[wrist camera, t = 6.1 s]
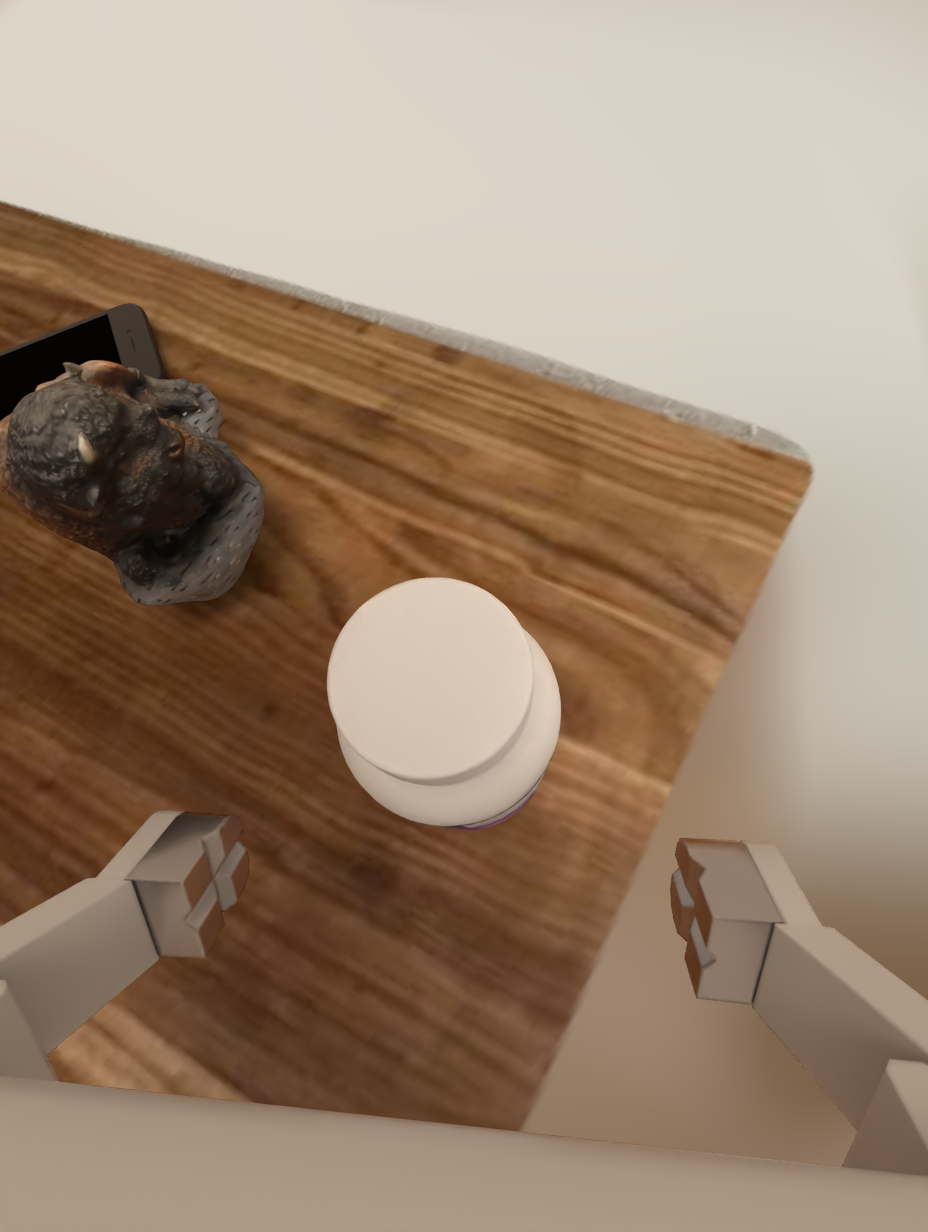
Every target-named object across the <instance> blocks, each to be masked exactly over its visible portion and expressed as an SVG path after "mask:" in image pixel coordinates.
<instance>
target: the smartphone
mask: <svg viewBox="0 0 928 1232" xmlns="http://www.w3.org/2000/svg"><path fill="white" fill-rule="evenodd" d="M92 360H99V361H109V362H113V363H118V364H120V365H122V366H123V367H125V368H126V369H127V368H136V369H138V370H140V371H141V372H142V374H143V375H144V376H150V377H152V378H155V379H167V377H166V372H165V369H164V366H163V363H162V360H161V357H160V354H159V351H158V348H157V345H156V342H155V339H154V336H153V333H152V330H151V327H150V324H149V321H148V318H147V316H146V313H145V312H144V310H143V309H142V308H141V307H140V306H138V305H135V304H131V303H128V304H123V305H119V306H117V307H114V308H112V309H109V310H106V311H104V312H101V313H99V314H96V315H94V316H91V317H89V318H86V319H84V320H81V321H78V322H76V323H73V324H71V325H68V326H66V327H63V328H61V329H58V330H56V331H53V332H51V333H48V334H45V335H43V336H40V337H38V338H35V339H33V340H30V341H28V342H25V343H23V344H20V345H18V346H15V347H12V348H10V349H7V350H5V351H2V352H0V421H1V420H3V419H4V418H5V417H7V416H8V415H10V414H12V413H13V410H14V409H15V407H16V406H17V404H18V403H19V402H20V401H21V400H22V398H23V397H25V396H26V395H28V394H30V393H32V392H35V390H36V388H37V386H38V385H40V384H43V383H46V382H49V381H53V380H55V379H56V378H57V377H59V376H60V375H62V374H64V373H66V369H65V367H64V366H63V363H65V362H67V363H74V364H76V365H78V366H80V365H81V364H84V363H85V362H87V361H92Z"/></svg>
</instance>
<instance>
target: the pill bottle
mask: <svg viewBox="0 0 928 1232" xmlns="http://www.w3.org/2000/svg"><path fill="white" fill-rule="evenodd" d="M327 693H328V700H329V705H330V710H331V712H332V715H333V717H334V720H335V723H336V725H337V733H338V738H339V743H340V747H341V750H342V753H343V755H344V758H345V760H346V763H347V765H348V767H349V768H350V770H351V772H352V774H353V775H354V777H355V778H356V780H357V781H358V782H359V783H360V785H361V786H362V787H363V788H364V789H365V790H366V791H367V792H368V793H369V794H370V795H371V796H372V797H373V798H374V799H375V800H376V801H377V802H378V803H380V804H381V805H382V806H384V807H385V808H387V809H388V810H390V811H391V812H393V813H395V814H397V815H399V816H401V817H403V818H405V819H407V820H410V821H413V822H418V823H422V824H426V825H433V826H441V827H447V828H450V829H456V830H479V829H484V828H488V827H492V826H494V825H497V824H499V823H501V822H503V821H505V820H507V819H508V818H510V817H512V816H513V815H514V814H516V813H517V812H518V811H519V810H520V809H522V808H523V807H524V806H525V804H526V803H527V802H528V801H529V800H530V799H531V797H532V796H533V794H534V793H535V791H536V789H537V788H538V786H539V784H540V782H541V780H542V778H543V775H544V773H545V771H546V769H547V767H548V764H549V762H550V760H551V758H552V756H553V754H554V750H555V747H556V744H557V740H558V735H559V729H560V720H561V703H560V694H559V688H558V684H557V680H556V677H555V674H554V671H553V669H552V666H551V664H550V662H549V660H548V658H547V656H546V655H545V653H544V652H543V650H542V649H541V647H540V646H539V645H538V643H537V642H536V641H535V640H534V639H533V637H532V636H531V635H530V634H529V633H528V632H527V631H526V630H524V629H523V628H522V627H521V625H520V624H519V622H518V621H517V619H516V618H515V616H514V615H513V614H512V613H511V612H510V610H509V609H508V608H507V607H506V606H505V605H504V604H503V603H502V602H501V601H499V600H498V599H497V598H496V597H494V596H493V595H492V594H490V593H488V592H487V591H485V590H483V589H481V588H479V587H477V586H475V585H473V584H470V583H466V582H463V581H460V580H455V579H450V578H421V579H414V580H409V581H406V582H403V583H400V584H397V585H394V586H392V587H390V588H388V589H386V590H384V591H382V592H381V593H379V594H376V595H375V596H374V597H372V598H371V599H369V600H368V601H367V602H366V603H365V604H363V605H362V606H361V607H360V608H359V609H358V610H357V611H356V612H355V613H354V614H353V616H352V617H351V618H350V619H349V620H348V622H347V623H346V624H345V626H344V627H343V629H342V631H341V632H340V634H339V636H338V638H337V640H336V642H335V645H334V647H333V650H332V653H331V657H330V661H329V666H328V674H327Z"/></svg>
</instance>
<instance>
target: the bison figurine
mask: <svg viewBox="0 0 928 1232" xmlns="http://www.w3.org/2000/svg"><path fill="white" fill-rule="evenodd" d="M63 366H64V367H65V369H66V373H64V374H62V375H60V376H59V377H57V378H56V379H55V380H53V381H49V382H46V383H43V384H40V385H38V386H37V388H36V390H35V392H32V393H30V394H28V395H26V396H25V397H23V398H22V400H21V401H20V402H19V403H18V404H17V406H16V407H15V409H14V410H13V413H12V414H10V415H8V416H7V417H5V418H4V419H3V420H1V421H0V487H1V488H2V489H3V491H4V492H5V493H6V494H7V495H8V496H9V497H11V498H12V499H13V500H14V501H15V503H16V504H17V506H18V507H19V508H20V509H21V510H22V511H23V512H25V513H27V514H28V515H30V516H31V517H32V518H33V519H35V520H36V521H38V522H39V523H41V524H43V525H44V526H45V527H47V528H48V529H50V530H52V531H54V532H56V533H58V534H59V535H61V536H63V537H65V538H67V539H69V540H72V541H74V542H77V543H80V544H82V545H83V546H85V547H87V548H89V549H91V550H94V551H98V552H99V553H101V554H103V555H105V556H106V557H108V558H109V559H111V560H112V561H114V564H115V566H116V568H117V570H118V573H119V576H120V581H121V584H122V586H123V588H124V589H125V590H126V592H127V593H128V594H129V595H130V596H131V598H133V599H134V600H135V601H136V602H138V603H140V604H142V605H149V606H165V605H170V604H174V603H181V602H190V601H206V600H211V599H216V598H218V597H219V596H221V595H222V594H224V593H226V592H227V591H228V590H229V589H230V588H231V587H232V586H233V585H234V584H235V583H236V581H237V580H238V579H239V577H240V576H241V574H242V572H243V570H244V568H245V565H246V563H247V561H248V559H249V556H250V553H251V550H252V549H253V547H254V545H255V543H256V540H257V538H258V536H259V533H260V530H261V526H262V523H263V520H264V512H265V506H264V490H263V487H262V485H261V483H260V481H259V480H258V479H257V478H256V476H255V475H254V474H253V473H252V471H251V470H250V469H249V468H248V467H246V466H245V465H244V464H243V463H242V462H241V461H240V459H239V458H238V457H237V456H236V455H235V454H234V453H233V452H232V451H231V449H230V447H229V446H228V445H227V444H226V443H225V442H223V441H218V440H217V437H218V433H219V428H220V426H221V425H222V423H223V422H224V418H223V416H222V411H221V408H220V405H219V403H218V401H217V399H216V397H215V396H214V395H212V394H211V392H210V391H209V389H208V388H207V387H206V386H205V385H203V384H199V383H196V384H192V383H191V382H190V381H189V380H187V379H176V380H174V379H171V380H168V379H155V378H152V377H150V376H144V375H143V374H142V372H141V371H140V370H138V369H136V368H127V369H126V368H125V367H123V366H122V365H120V364H118V363H113V362H109V361H99V360H92V361H87V362H85V363H84V364H81V365H80V366H78V365H76V364H74V363H67V362H65V363H63Z"/></svg>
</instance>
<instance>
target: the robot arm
mask: <svg viewBox="0 0 928 1232" xmlns="http://www.w3.org/2000/svg"><path fill="white" fill-rule="evenodd" d="M241 833H242V827H241V824H240V820H239V817H236V816H233V815H224V814H211V813H199V812H186V811H185V812H178V811H167V810H160V811H158V812H156V813H154V814H152V815H151V816H150V817H149V818H148V819H147V821H146V822H145V823H144V824H143V825H142V826H141V827H140V829H139V830H138V831H137V832H136V833H135V834H134V835H133V836H132V838H131V839H130V840H129V841H128V842H127V843H126V844H125V845H124V847H123V848H122V849H121V850H120V851H119V852H118V853H117V854H116V856H115V857H114V858H113V859H112V860H111V861H110V862H109V863H108V865H107V866H106V867H105V868H104V869H103V870H102V871H101V872H100V874H99V875H98V876H97V877H96V878H86V879H84V880H83V881H81V882H79V883H77V884H75V885H74V886H72V887H70V888H68V889H67V890H65V891H63V892H61V893H59V894H58V895H56V896H54V897H52V898H50V899H49V900H47V901H45V902H43V903H41V904H40V905H38V906H36V907H34V908H32V909H31V910H29V911H27V912H25V913H24V914H22V915H20V916H18V917H16V918H15V919H13V920H11V921H9V922H7V923H6V924H4V925H2V926H0V1232H928V1000H926V999H925V998H924V997H923V996H921V995H920V994H919V993H917V992H916V991H914V990H913V989H912V988H911V987H909V986H908V985H907V984H906V983H904V982H903V981H902V980H900V979H899V978H898V977H896V976H895V975H894V974H893V973H891V972H890V971H888V970H887V969H886V968H885V967H883V966H882V965H881V964H879V963H878V962H877V961H876V960H874V959H873V958H872V957H870V956H869V955H868V954H866V953H865V952H864V951H862V950H861V949H860V948H859V947H857V946H856V945H855V944H853V943H852V942H851V941H850V940H848V939H847V938H845V937H844V936H843V935H841V934H840V933H839V932H838V931H836V930H835V929H834V928H832V927H824V926H822V925H821V923H820V922H819V920H818V918H817V917H816V915H815V913H814V911H813V909H812V908H811V906H810V904H809V902H808V901H807V899H806V897H805V895H804V894H803V892H802V890H801V889H800V887H799V885H798V883H797V881H796V880H795V878H794V876H793V874H792V873H791V871H790V869H789V867H788V866H787V864H786V862H785V861H784V859H783V857H782V855H781V854H780V852H779V850H778V848H777V847H776V846H775V845H774V844H773V843H772V842H767V841H742V840H741V841H737V840H714V839H692V838H680V839H679V841H678V843H677V847H676V853H675V856H676V859H677V862H678V865H679V868H678V869H677V870H676V871H675V872H674V873H673V874H672V878H671V888H670V893H671V908H672V913H673V919H674V923H675V925H676V930H677V933H678V934H679V935H680V936H681V937H682V938H683V939H684V940H685V941H686V942H687V947H686V952H685V961H686V964H687V968H688V971H689V974H690V978H691V981H692V985H693V988H694V991H695V995H696V998H697V999H706V1000H715V1001H724V1002H732V1003H742V1004H751V1005H753V1007H752V1008H753V1009H754V1010H755V1011H756V1012H757V1014H758V1015H759V1016H760V1017H761V1018H762V1020H763V1021H764V1022H765V1023H766V1024H767V1025H768V1027H769V1028H770V1029H771V1030H772V1031H773V1033H774V1034H775V1035H776V1036H777V1037H778V1038H779V1039H780V1041H781V1042H782V1043H783V1044H784V1045H785V1047H786V1048H787V1049H788V1050H789V1051H790V1052H791V1054H792V1055H793V1056H794V1057H795V1058H796V1059H797V1061H798V1062H799V1063H800V1064H801V1065H802V1067H803V1068H804V1069H805V1070H806V1071H807V1072H808V1074H809V1075H810V1076H811V1077H812V1078H813V1079H814V1081H815V1082H816V1083H817V1084H818V1085H819V1086H820V1088H821V1089H822V1090H823V1091H824V1092H825V1094H826V1095H827V1096H828V1097H829V1098H830V1099H831V1101H832V1102H833V1103H834V1104H835V1105H836V1106H837V1107H838V1109H839V1110H840V1111H841V1112H842V1113H843V1115H844V1116H845V1117H846V1118H847V1119H848V1120H849V1121H850V1123H851V1124H852V1125H853V1126H854V1128H855V1129H856V1130H857V1133H856V1136H855V1138H854V1141H853V1143H852V1145H851V1147H850V1149H849V1151H848V1154H847V1156H846V1158H845V1160H844V1163H843V1165H842V1167H839V1166H828V1165H820V1164H811V1163H802V1162H793V1161H783V1160H774V1159H765V1158H756V1157H755V1158H754V1157H746V1156H738V1155H728V1154H719V1153H710V1152H701V1151H692V1150H682V1149H673V1148H664V1147H655V1146H646V1145H636V1144H627V1143H618V1142H609V1141H600V1140H591V1139H581V1138H573V1137H563V1136H554V1135H544V1134H536V1133H527V1132H518V1131H509V1130H500V1129H491V1128H482V1127H472V1126H463V1125H454V1124H445V1123H436V1122H427V1121H418V1120H408V1119H399V1118H390V1117H381V1116H371V1115H362V1114H353V1113H343V1112H334V1111H325V1110H316V1109H306V1108H297V1107H288V1106H279V1105H269V1104H260V1103H251V1102H242V1101H233V1100H223V1099H214V1098H205V1097H196V1096H187V1095H178V1094H168V1093H159V1092H150V1091H141V1090H132V1089H122V1088H113V1087H104V1086H95V1085H86V1084H77V1083H67V1082H58V1076H57V1075H56V1073H55V1071H54V1069H53V1067H52V1065H51V1063H50V1061H49V1060H48V1058H47V1055H48V1054H49V1053H50V1052H51V1051H52V1050H54V1049H55V1048H56V1047H57V1046H58V1045H59V1044H61V1043H62V1042H63V1041H64V1040H65V1039H66V1038H68V1037H69V1036H70V1035H71V1034H72V1033H73V1032H75V1031H76V1030H77V1029H78V1028H79V1027H80V1026H82V1025H83V1024H84V1023H85V1022H86V1021H87V1020H89V1019H90V1018H91V1017H92V1016H93V1015H94V1014H96V1013H97V1012H98V1011H99V1010H100V1009H101V1008H103V1007H104V1006H105V1005H106V1004H107V1003H109V1002H110V1001H111V1000H112V999H113V998H114V997H116V996H117V995H118V994H119V993H120V992H121V991H123V990H124V989H125V988H126V987H127V986H128V985H130V984H131V983H132V982H133V981H134V980H135V979H137V978H138V977H139V976H140V975H141V974H142V973H144V972H145V971H146V970H147V969H148V968H149V967H151V966H152V965H153V964H154V963H155V962H156V961H158V960H159V957H158V956H162V957H182V958H203V959H205V958H206V956H207V954H208V953H209V951H210V949H211V947H212V946H213V944H214V942H215V940H216V939H217V937H218V935H219V933H220V931H221V930H222V928H223V926H224V924H225V923H224V916H223V912H224V911H225V910H227V909H228V908H230V907H231V906H232V905H234V904H235V903H236V902H237V901H238V899H239V897H240V896H241V894H242V892H243V890H244V888H245V884H246V881H247V877H248V873H249V856H248V852H247V849H246V848H245V847H244V846H243V845H242V844H241V843H240V842H239V841H238V840H237V839H238V838H239V836H240V834H241Z"/></svg>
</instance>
